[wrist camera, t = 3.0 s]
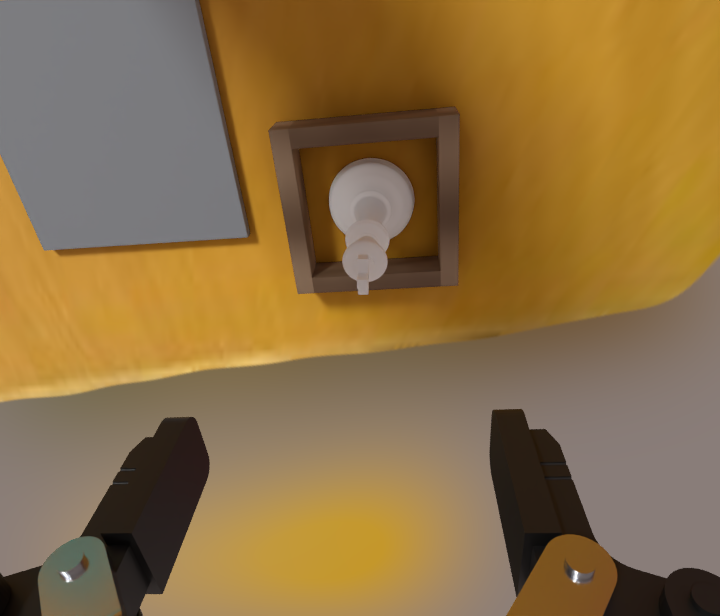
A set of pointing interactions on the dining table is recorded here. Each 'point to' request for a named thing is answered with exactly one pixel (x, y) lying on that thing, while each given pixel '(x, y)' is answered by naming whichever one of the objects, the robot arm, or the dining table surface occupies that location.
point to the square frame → (358, 131)
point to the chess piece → (370, 214)
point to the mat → (115, 123)
